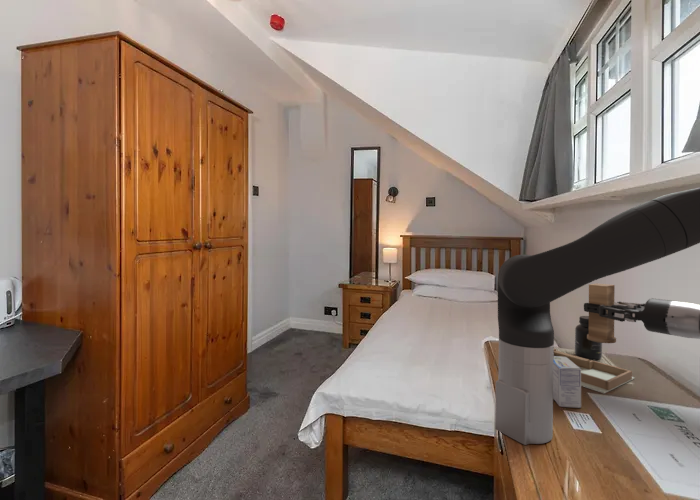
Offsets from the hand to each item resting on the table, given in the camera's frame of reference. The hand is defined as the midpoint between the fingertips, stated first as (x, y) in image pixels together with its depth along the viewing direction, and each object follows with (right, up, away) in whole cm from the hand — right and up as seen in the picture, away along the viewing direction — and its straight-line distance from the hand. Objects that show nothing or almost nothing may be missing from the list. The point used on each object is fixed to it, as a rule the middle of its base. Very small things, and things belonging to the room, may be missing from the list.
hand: (589, 305), depth 91 cm
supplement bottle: (+10, -18, +15) cm, 26 cm away
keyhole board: (-1, -18, +3) cm, 19 cm away
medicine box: (-14, -19, -12) cm, 27 cm away
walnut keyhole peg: (+2, -8, -2) cm, 9 cm away
